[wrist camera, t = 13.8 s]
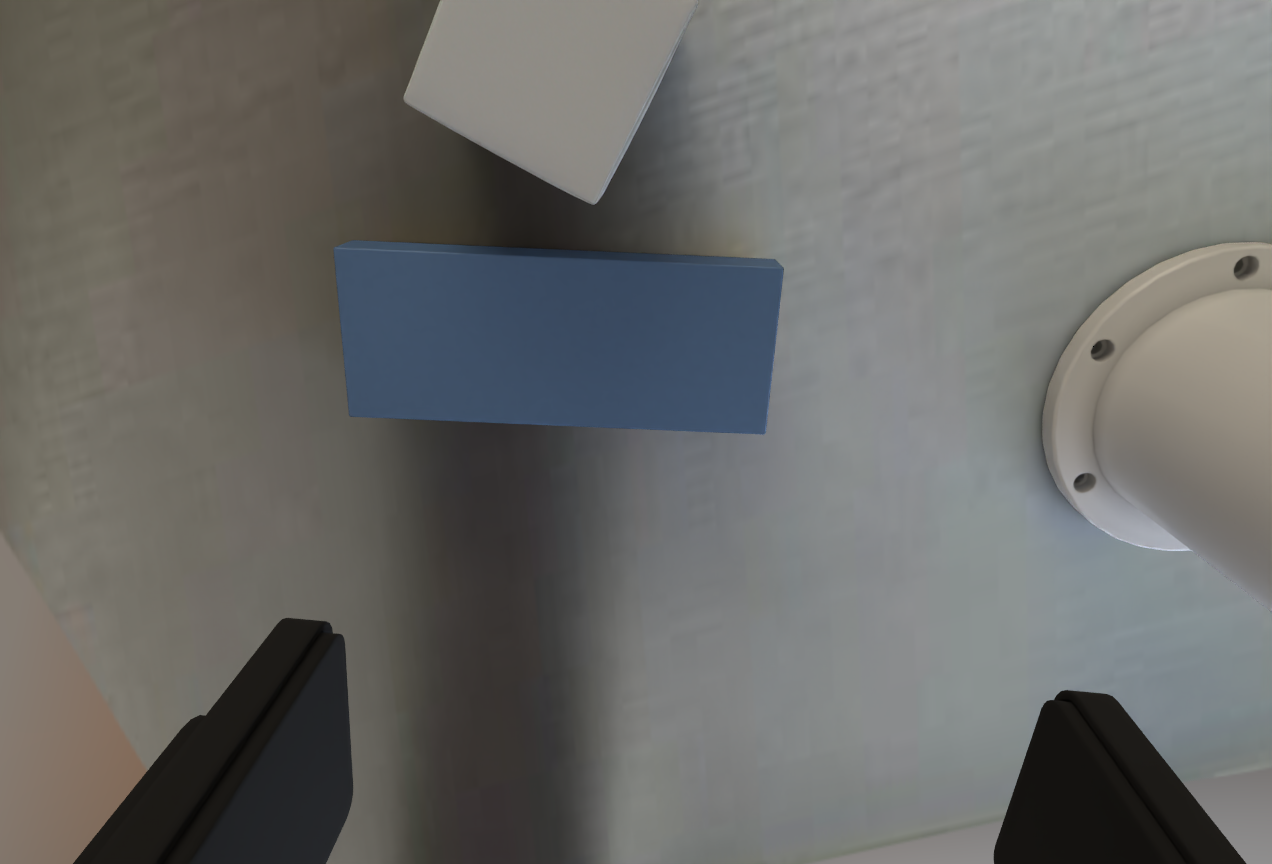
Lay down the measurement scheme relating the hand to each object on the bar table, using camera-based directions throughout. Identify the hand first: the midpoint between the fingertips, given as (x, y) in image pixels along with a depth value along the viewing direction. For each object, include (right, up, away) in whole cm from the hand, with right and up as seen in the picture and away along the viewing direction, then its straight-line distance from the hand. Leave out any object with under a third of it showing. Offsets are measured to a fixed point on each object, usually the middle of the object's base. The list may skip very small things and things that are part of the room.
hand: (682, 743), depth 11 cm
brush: (-3, +8, +20) cm, 22 cm away
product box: (-3, +17, +17) cm, 24 cm away
